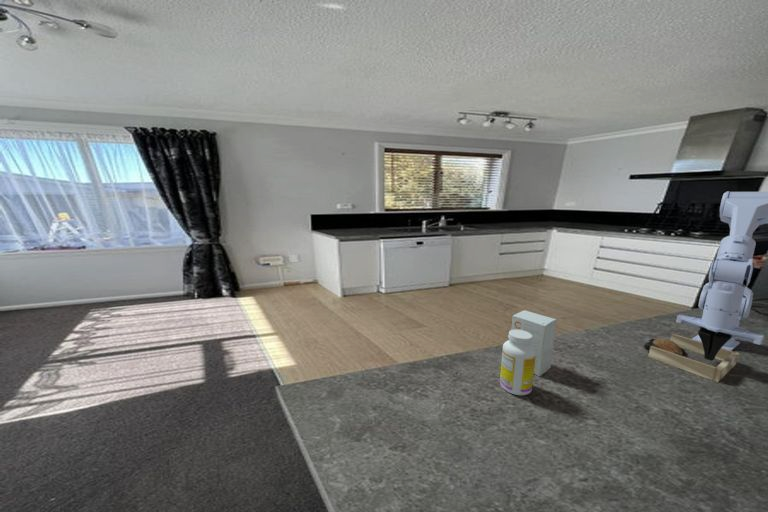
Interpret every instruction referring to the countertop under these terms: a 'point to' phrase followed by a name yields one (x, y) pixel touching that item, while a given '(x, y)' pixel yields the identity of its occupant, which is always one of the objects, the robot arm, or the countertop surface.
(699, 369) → the frame
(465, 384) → the countertop surface
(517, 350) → the supplement bottle
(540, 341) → the small box
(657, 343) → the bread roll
